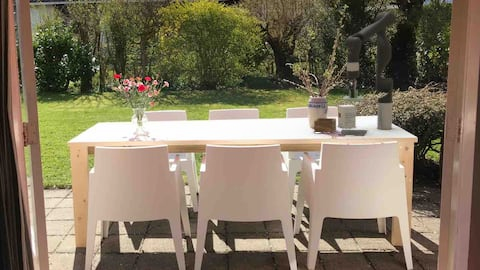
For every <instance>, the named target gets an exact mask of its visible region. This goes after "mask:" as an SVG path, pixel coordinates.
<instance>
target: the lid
mask: <svg viewBox="0 0 480 270" xmlns="http://www.w3.org/2000/svg"><path fill="white" fill-rule="evenodd" d="M358 94H359V89H356V90H355V92H354V98H351V92H350V89H349V91H348V96H347V95H345V96H344V97H342V99H341V100H342V101H344V102H354V103H355V102H356V103H360V102H361V101H363V100H364V98H365V95H364V96H362V95H361V96H359V95H358Z"/></svg>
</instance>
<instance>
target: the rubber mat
mask: <svg viewBox="0 0 480 270" xmlns="http://www.w3.org/2000/svg"><path fill="white" fill-rule="evenodd" d="M340 132H341V134H342V135H341V136H345V135H363V136H362V137H365V136H366V134H367V132H368V130H367V129H344V128H341V130H340ZM364 135H365V136H364Z"/></svg>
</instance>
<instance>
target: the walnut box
mask: <svg viewBox="0 0 480 270" xmlns="http://www.w3.org/2000/svg"><path fill="white" fill-rule="evenodd" d="M313 126H314V127H313V128H314V129H313V130H314V132H330V133H333V132H334V131H335V130H336V131H337V118H332V117H331V118H327V117H325V118H323V117H322V118H321V117H317V118H316V119H315V120H314V124H313ZM336 131H335V132H336ZM335 132H334V133H335ZM334 133H333V134H334Z"/></svg>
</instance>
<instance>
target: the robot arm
mask: <svg viewBox="0 0 480 270" xmlns="http://www.w3.org/2000/svg"><path fill="white" fill-rule="evenodd" d="M395 23H396V15H395V13H394V12H393V11H382V12H378V13H377V14H376V17H375V22H374V23H371V24H369V25H367V26H365V27H364V28H362V29H361V30H359V32H356V33H354V34H352V35H350V36H348V37H347V38H346V39H345V41H344V47H345V48H346V49H348V50H349V49H350V51H351V52H349V53H347V56H346V58H347V60H346V61H347V62H346V63H347V64H346V78H347V79H350V80H349V82H348V84H349V90H350V92H351V98H354V92H355V90H357V80H356V78H360V62H359V60H360V52H361V49H362V45H363V44H362V43H364V42H367V41H368V40H369V39H370V38H371V37H373V36H375V35H376V72H375V73H376V74H375V91H376V92H377V93H386V94H384V96H381V97H378V98H377V121H376V123H377V126H376V127H377V129H378V130H392V128H393V89H394V80H393V78H392V77H382V75H383V72H384V70H385V68H386V67H387V65H388V64H389V62H390V61H391V59H392V45H391V43H390V41H389V38H388V37H387V32H386V28H389V27H391V26H392V25H394V24H395Z"/></svg>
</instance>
